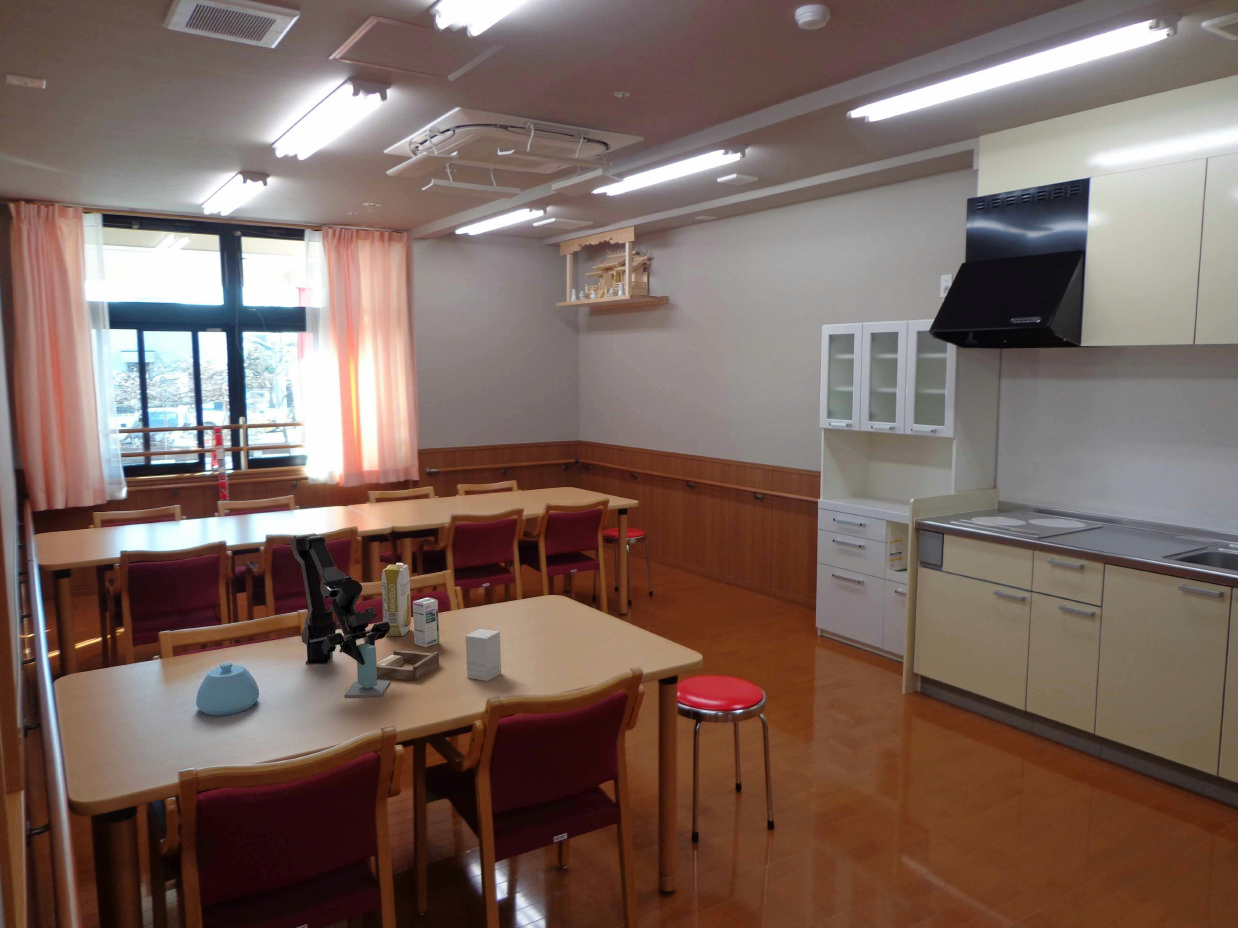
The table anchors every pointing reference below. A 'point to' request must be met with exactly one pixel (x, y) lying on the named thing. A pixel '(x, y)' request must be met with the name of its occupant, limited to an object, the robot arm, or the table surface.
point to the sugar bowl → (227, 690)
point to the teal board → (367, 666)
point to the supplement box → (483, 654)
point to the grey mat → (367, 690)
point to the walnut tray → (421, 668)
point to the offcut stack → (391, 661)
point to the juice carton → (396, 598)
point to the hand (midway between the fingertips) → (369, 662)
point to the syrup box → (426, 622)
